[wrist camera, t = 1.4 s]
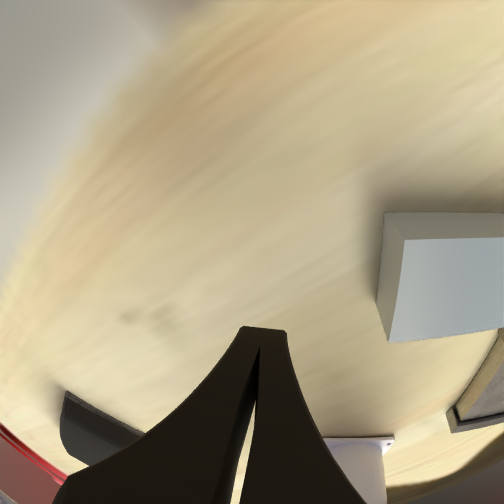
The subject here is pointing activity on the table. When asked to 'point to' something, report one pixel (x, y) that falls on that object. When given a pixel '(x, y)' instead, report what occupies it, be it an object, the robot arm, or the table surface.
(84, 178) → the table surface
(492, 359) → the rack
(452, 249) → the light grey rectangular block
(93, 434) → the external hard drive
